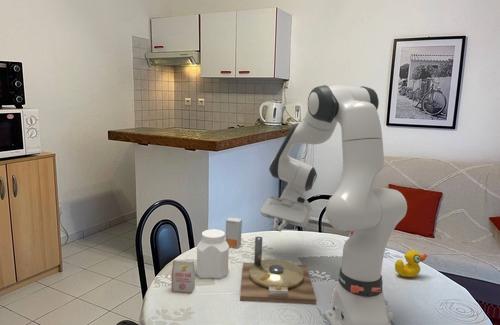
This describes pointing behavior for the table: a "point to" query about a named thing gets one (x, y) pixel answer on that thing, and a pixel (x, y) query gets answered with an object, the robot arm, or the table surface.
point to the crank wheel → (274, 270)
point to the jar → (212, 255)
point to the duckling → (409, 264)
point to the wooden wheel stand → (277, 290)
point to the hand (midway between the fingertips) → (276, 230)
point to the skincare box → (233, 232)
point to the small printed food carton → (183, 276)
